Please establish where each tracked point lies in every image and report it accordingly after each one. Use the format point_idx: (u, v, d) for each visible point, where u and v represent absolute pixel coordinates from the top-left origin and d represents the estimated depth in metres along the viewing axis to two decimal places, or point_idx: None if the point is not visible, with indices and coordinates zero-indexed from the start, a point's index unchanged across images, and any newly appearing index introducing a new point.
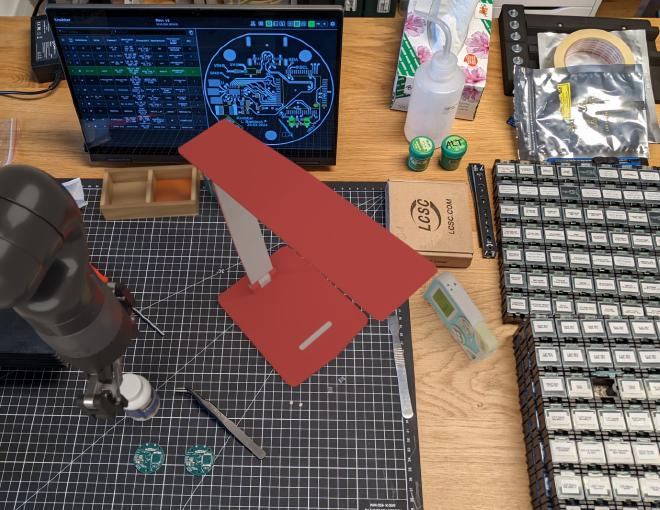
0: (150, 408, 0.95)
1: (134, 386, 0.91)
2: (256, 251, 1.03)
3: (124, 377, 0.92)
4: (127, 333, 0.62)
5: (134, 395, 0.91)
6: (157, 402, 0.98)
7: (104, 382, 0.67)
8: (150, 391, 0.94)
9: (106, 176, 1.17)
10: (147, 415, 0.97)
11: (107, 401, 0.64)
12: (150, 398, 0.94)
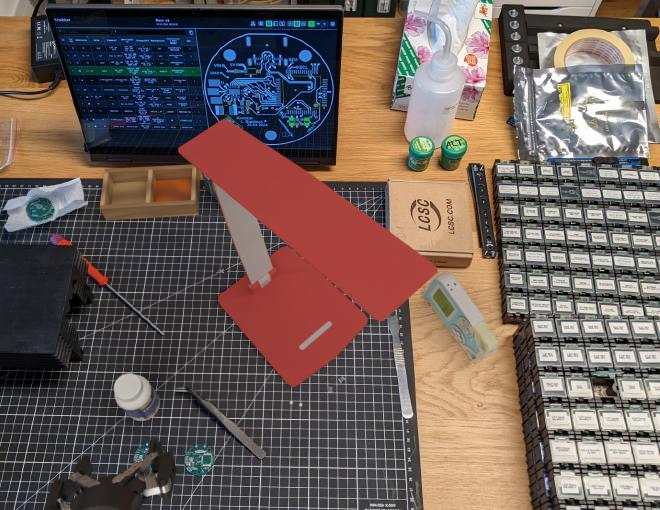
0: (150, 408, 0.95)
1: (134, 386, 0.91)
2: (256, 251, 1.03)
3: (124, 377, 0.92)
4: None
5: (134, 395, 0.91)
6: (157, 402, 0.98)
7: None
8: (150, 391, 0.94)
9: (106, 176, 1.17)
10: (147, 415, 0.97)
11: None
12: (150, 398, 0.94)
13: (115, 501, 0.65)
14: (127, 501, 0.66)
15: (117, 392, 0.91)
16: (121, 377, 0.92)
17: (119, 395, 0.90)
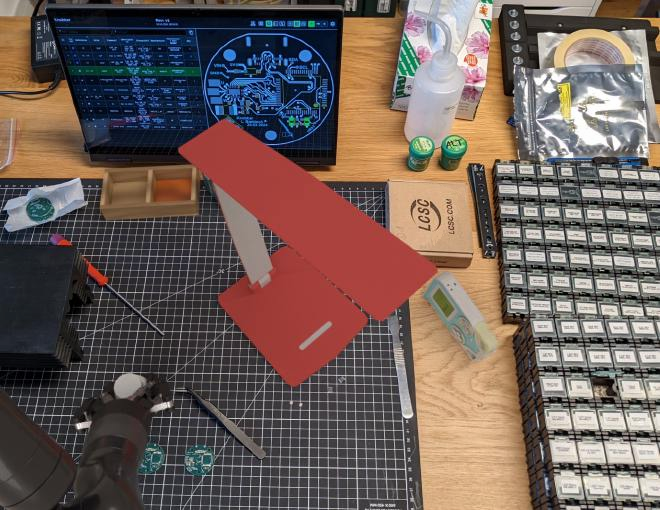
0: None
1: (134, 386, 0.91)
2: (256, 251, 1.03)
3: (124, 377, 0.92)
4: None
5: None
6: None
7: None
8: None
9: (106, 176, 1.17)
10: None
11: None
12: None
13: (129, 411, 0.80)
14: (139, 412, 0.81)
15: (117, 392, 0.91)
16: (121, 377, 0.92)
17: (119, 395, 0.90)
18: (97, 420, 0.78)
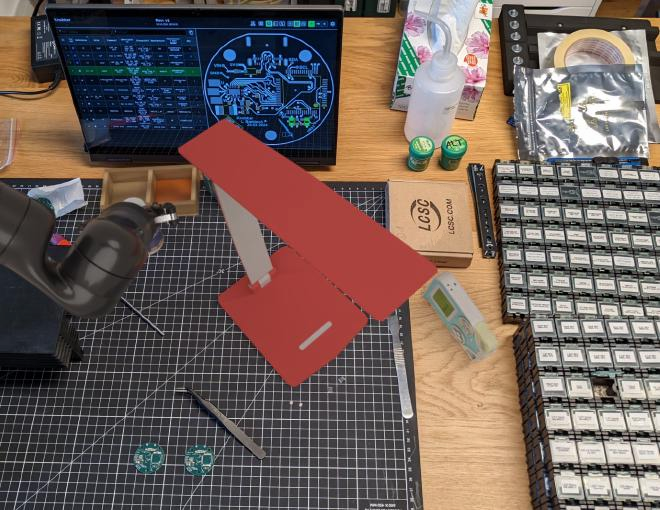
0: (154, 238, 0.97)
1: None
2: (256, 251, 1.03)
3: (129, 200, 0.93)
4: None
5: None
6: (161, 236, 0.99)
7: None
8: None
9: (106, 176, 1.17)
10: (151, 247, 0.98)
11: None
12: None
13: (134, 207, 0.81)
14: (143, 212, 0.82)
15: None
16: (126, 200, 0.93)
17: None
18: (103, 212, 0.79)
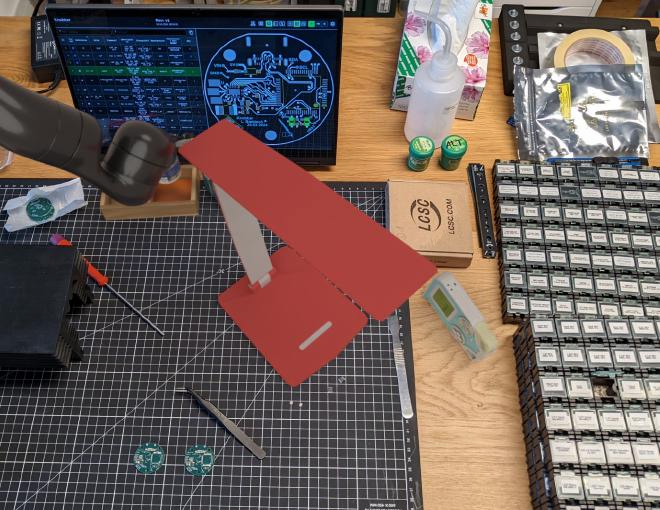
0: (173, 167, 1.09)
1: None
2: (256, 251, 1.03)
3: None
4: None
5: None
6: (179, 167, 1.11)
7: None
8: None
9: None
10: (170, 176, 1.10)
11: None
12: None
13: None
14: (167, 133, 0.94)
15: None
16: None
17: None
18: None
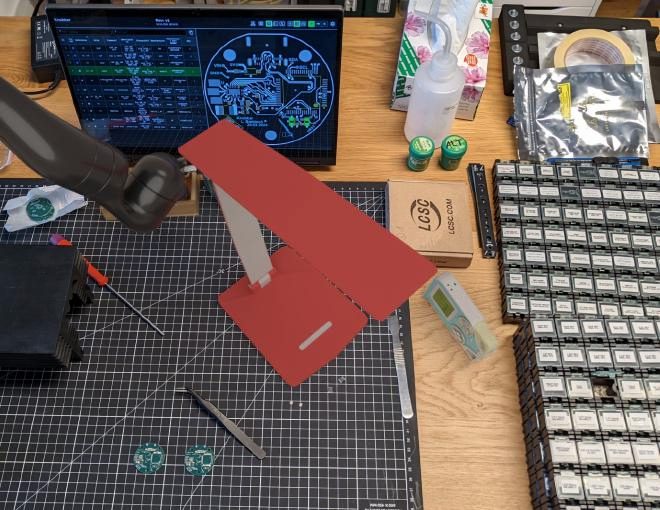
0: None
1: None
2: (256, 251, 1.03)
3: None
4: None
5: None
6: (187, 190, 1.17)
7: None
8: None
9: None
10: (179, 199, 1.16)
11: None
12: None
13: (169, 156, 0.99)
14: (176, 160, 1.00)
15: None
16: None
17: None
18: None
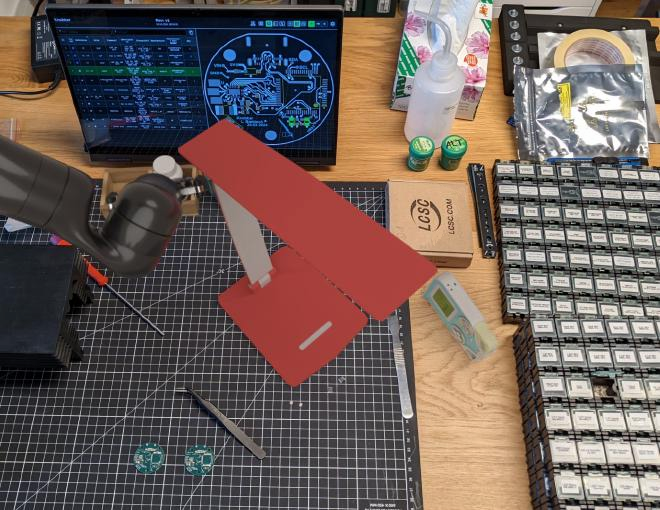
0: None
1: (169, 164, 1.10)
2: (256, 251, 1.03)
3: (161, 158, 1.11)
4: None
5: (170, 170, 1.10)
6: None
7: None
8: (182, 173, 1.13)
9: (106, 176, 1.17)
10: None
11: None
12: None
13: (163, 178, 0.84)
14: (172, 182, 0.85)
15: (156, 168, 1.10)
16: (158, 158, 1.11)
17: (157, 170, 1.10)
18: None
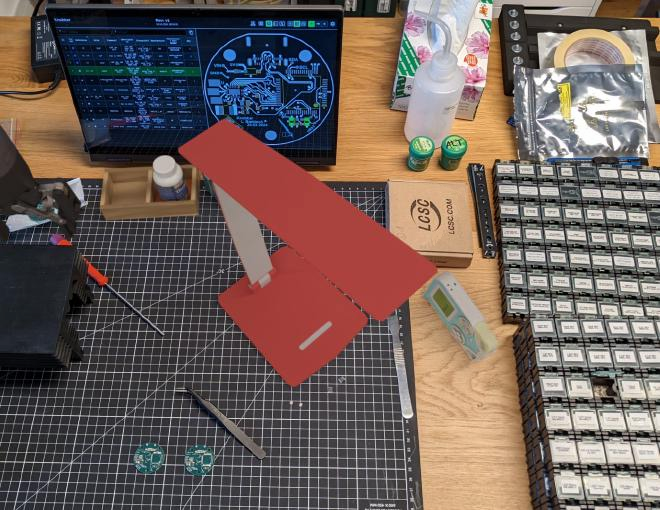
0: (181, 190, 1.15)
1: (169, 164, 1.10)
2: (256, 251, 1.03)
3: (161, 158, 1.11)
4: None
5: (170, 170, 1.10)
6: (187, 190, 1.17)
7: None
8: (182, 173, 1.13)
9: (106, 176, 1.17)
10: (179, 199, 1.16)
11: None
12: (182, 180, 1.14)
13: None
14: (20, 154, 0.71)
15: (156, 168, 1.10)
16: (158, 158, 1.11)
17: (157, 170, 1.10)
18: None
